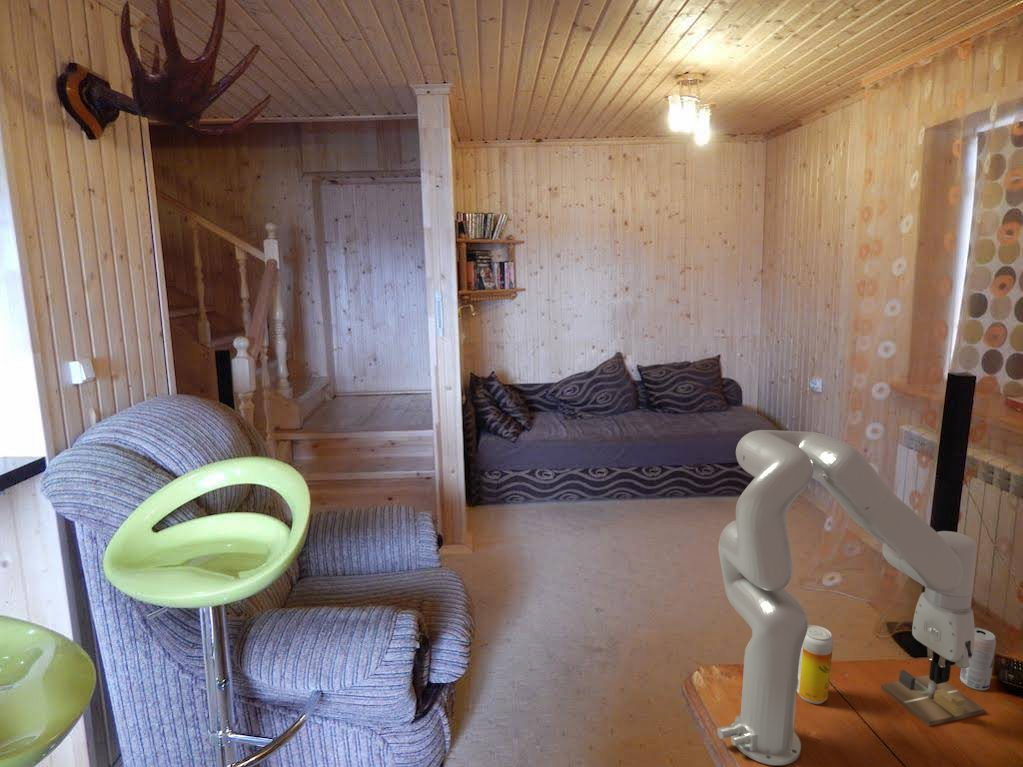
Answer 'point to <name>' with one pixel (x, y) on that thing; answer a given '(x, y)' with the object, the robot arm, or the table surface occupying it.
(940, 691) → the latch bar
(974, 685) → the energy drink
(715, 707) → the table surface
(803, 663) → the beer can
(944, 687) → the lock board
